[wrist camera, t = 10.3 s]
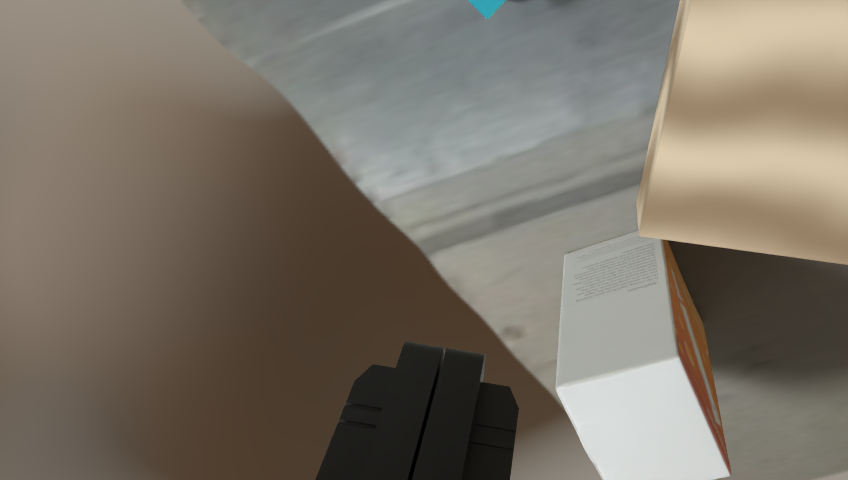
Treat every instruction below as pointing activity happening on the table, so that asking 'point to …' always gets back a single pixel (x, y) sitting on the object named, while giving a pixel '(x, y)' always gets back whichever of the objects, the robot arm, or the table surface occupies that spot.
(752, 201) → the birch deck
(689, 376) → the small box
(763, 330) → the table surface
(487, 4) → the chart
